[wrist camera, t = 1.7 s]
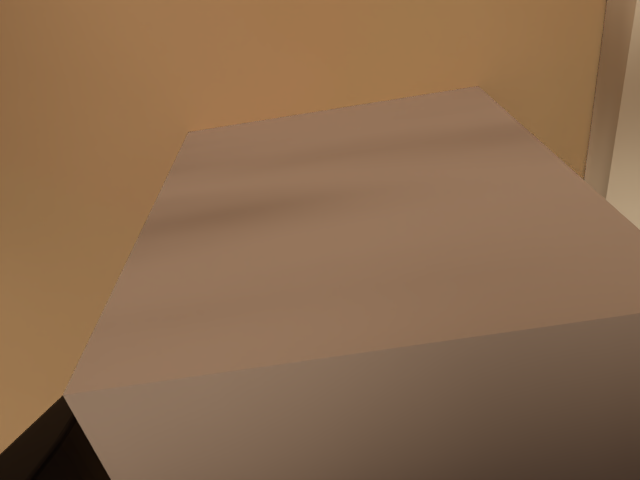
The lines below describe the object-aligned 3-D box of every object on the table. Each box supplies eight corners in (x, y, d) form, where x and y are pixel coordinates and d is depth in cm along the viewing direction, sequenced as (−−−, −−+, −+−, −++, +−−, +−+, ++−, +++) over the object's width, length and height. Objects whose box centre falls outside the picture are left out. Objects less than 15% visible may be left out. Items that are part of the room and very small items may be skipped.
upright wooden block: (474, 376, 13) (598, 686, 8) (267, 405, 13) (253, 727, 8) (476, 85, 9) (720, 300, 4) (189, 130, 9) (63, 395, 4)
